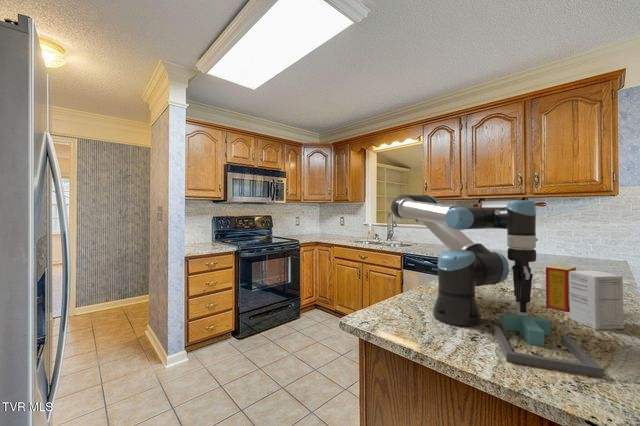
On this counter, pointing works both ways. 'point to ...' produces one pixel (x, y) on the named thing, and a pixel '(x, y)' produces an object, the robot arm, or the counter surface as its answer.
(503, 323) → the t block
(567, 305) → the baking soda box
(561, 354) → the counter surface
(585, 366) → the frame
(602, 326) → the supplement box
